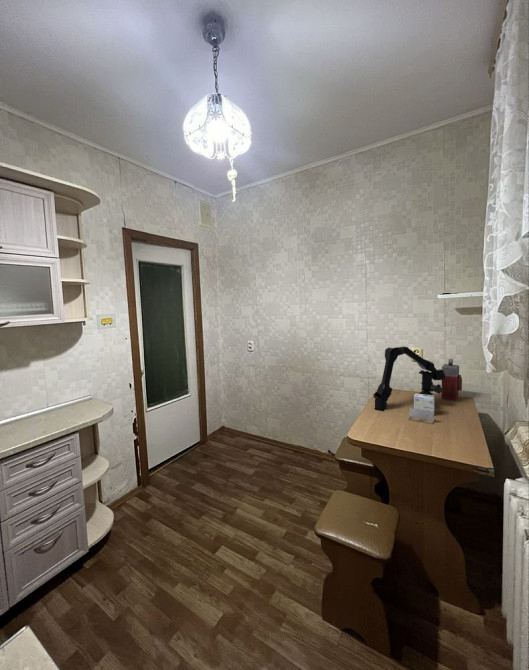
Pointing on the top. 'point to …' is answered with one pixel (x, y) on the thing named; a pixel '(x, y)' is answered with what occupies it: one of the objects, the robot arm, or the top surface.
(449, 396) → the red thermos jug
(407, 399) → the top surface
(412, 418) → the shelf plank
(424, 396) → the light bulb box
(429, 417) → the grey thin panel
